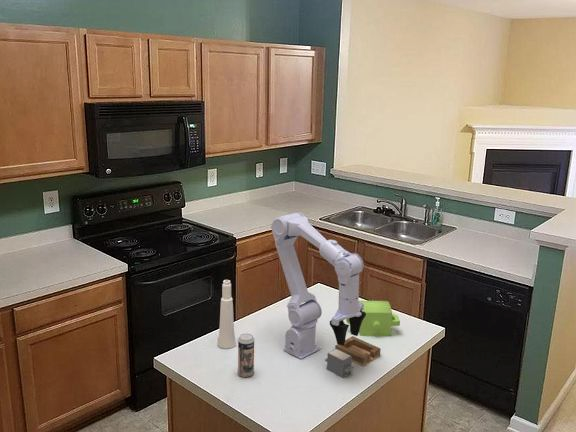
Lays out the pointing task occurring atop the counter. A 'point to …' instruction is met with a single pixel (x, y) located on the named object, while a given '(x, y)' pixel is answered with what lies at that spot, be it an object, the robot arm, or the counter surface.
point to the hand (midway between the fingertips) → (347, 339)
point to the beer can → (246, 355)
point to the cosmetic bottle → (226, 318)
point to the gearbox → (377, 319)
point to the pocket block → (359, 350)
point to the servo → (339, 363)
